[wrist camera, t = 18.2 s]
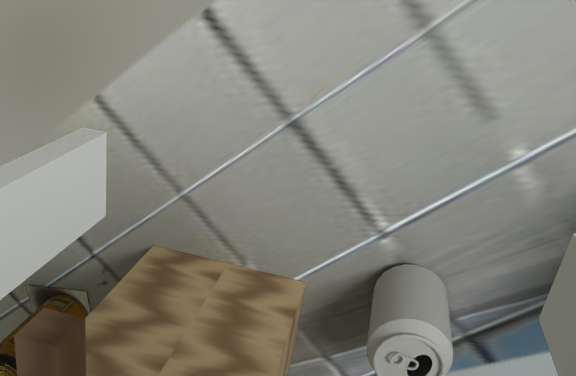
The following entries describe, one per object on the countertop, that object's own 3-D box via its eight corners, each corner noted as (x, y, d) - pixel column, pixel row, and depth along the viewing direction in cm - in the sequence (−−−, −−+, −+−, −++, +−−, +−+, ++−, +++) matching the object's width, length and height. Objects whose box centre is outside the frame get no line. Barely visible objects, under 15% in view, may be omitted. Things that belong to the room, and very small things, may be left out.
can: (423, 332, 58) (426, 415, 47) (361, 300, 58) (350, 376, 48) (460, 280, 55) (472, 357, 44) (394, 248, 55) (390, 316, 44)
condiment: (96, 339, 69) (37, 408, 58) (37, 331, 71) (-31, 396, 60) (87, 290, 66) (23, 353, 55) (27, 283, 68) (-47, 343, 57)
